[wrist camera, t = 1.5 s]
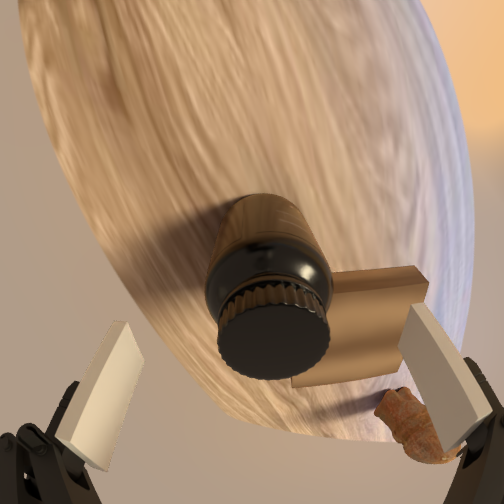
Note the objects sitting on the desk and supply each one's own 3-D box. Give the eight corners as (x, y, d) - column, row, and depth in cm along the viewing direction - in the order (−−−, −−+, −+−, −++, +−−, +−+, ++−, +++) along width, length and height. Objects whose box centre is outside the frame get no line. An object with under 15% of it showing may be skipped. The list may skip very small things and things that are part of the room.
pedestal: (290, 275, 23) (294, 296, 21) (414, 265, 23) (429, 282, 20) (289, 367, 29) (291, 388, 26) (389, 353, 28) (397, 372, 25)
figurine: (368, 407, 34) (390, 492, 20) (388, 374, 30) (422, 472, 17) (413, 398, 34) (441, 473, 20) (436, 365, 30) (474, 448, 17)
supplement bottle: (267, 285, 24) (273, 407, 13) (202, 237, 22) (159, 350, 11) (325, 229, 21) (382, 336, 11) (260, 171, 19) (267, 240, 9)
